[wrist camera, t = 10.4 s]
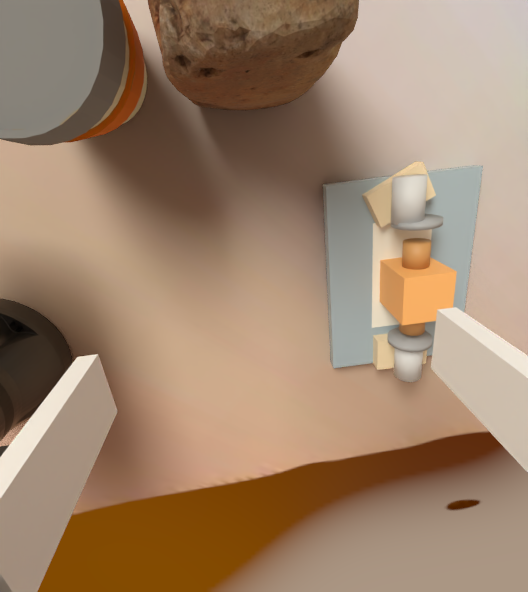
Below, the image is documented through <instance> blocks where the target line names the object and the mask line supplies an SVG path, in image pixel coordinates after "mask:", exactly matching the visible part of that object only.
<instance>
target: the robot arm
mask: <svg viewBox="0 0 528 592" xmlns="http://www.w3.org/2000/svg"><path fill="white" fill-rule="evenodd" d="M431 369H432V370H433V371H434V372H435V373H436V374H437V376H438V377H439V378H440V379H441V380H442V381H443V382H444V383H445V384H446V385H447V386H448V387H449V388H450V390H451V391H452V392H453V393H454V394H455V395H456V396H457V397H458V398H459V399H460V400H461V401H462V402H463V404H464V405H465V406H466V407H467V408H468V409H469V410H470V411H471V412H472V413H473V414H474V415H475V416H476V417H477V419H478V420H479V421H480V422H481V423H482V424H483V425H484V426H485V427H486V428H487V429H488V430H489V431H490V433H492V435H493V436H494V437H495V438H496V439H497V440H498V441H499V442H500V443H501V444H502V445H503V446H504V447H505V449H506V450H507V451H508V452H509V453H510V454H511V455H512V456H513V457H514V458H515V459H516V460H517V462H518V463H520V465H521V466H522V467H523V468H524V469H525V470H526V471H527V472H528V356H527V355H526V354H524V353H523V352H521V351H520V350H518V349H517V348H515V347H514V346H513V345H511V344H510V343H508V342H507V341H505V340H504V339H502V338H501V337H499V336H498V335H496V334H495V333H493V332H492V331H490V330H489V329H488V328H486V327H485V326H483V325H482V324H480V323H479V322H477V321H476V320H474V319H473V318H471V317H470V316H468V315H467V314H465V313H464V312H462V311H461V310H460V309H458V308H457V307H454V308H446V309H438V310H437V316H436V325H435V335H434V344H433V353H432V362H431ZM117 412H118V411H117V408H116V405H115V402H114V399H113V396H112V393H111V390H110V387H109V384H108V382H107V379H106V376H105V373H104V370H103V367H102V364H101V361H100V358H99V355H98V354H95V355H87V356H80V357H77V358H76V359H75V361H74V362H73V363H72V358H71V353H70V350H69V347H68V345H67V343H66V341H65V339H64V338H63V336H62V335H61V333H60V332H59V331H58V330H57V328H56V327H55V326H54V325H53V324H52V323H51V322H50V321H48V320H47V319H46V318H45V317H43V316H42V315H41V314H39V313H38V312H36V311H34V310H32V309H31V308H29V307H26V306H24V305H22V304H19V303H16V302H13V301H9V300H5V299H0V441H1V440H2V439H3V437H4V436H5V435H6V434H7V433H8V432H9V431H10V430H11V429H13V428H15V427H16V426H18V425H19V424H21V423H23V422H24V421H26V420H27V419H29V418H30V419H29V421H28V422H27V423H26V424H25V426H24V427H23V428H22V430H21V431H20V432H19V434H18V435H17V436H16V437H15V439H14V440H13V441H12V443H11V444H10V445H8V446H1V447H0V592H37V591H38V589H39V586H40V584H41V582H42V580H43V577H44V575H45V573H46V571H47V568H48V566H49V564H50V562H51V560H52V557H53V555H54V553H55V551H56V548H57V546H58V544H59V541H60V539H61V537H62V535H63V533H64V530H65V528H66V526H67V524H68V521H69V519H70V517H71V515H72V513H73V510H74V508H75V506H76V504H77V502H78V499H79V497H80V495H81V493H82V490H83V488H84V486H85V484H86V481H87V479H88V477H89V475H90V472H91V470H92V468H93V466H94V464H95V461H96V459H97V457H98V455H99V452H100V450H101V448H102V446H103V443H104V441H105V439H106V437H107V435H108V432H109V430H110V428H111V426H112V423H113V421H114V419H115V417H116V414H117Z"/></svg>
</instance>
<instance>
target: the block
mask: <svg viewBox="0 0 528 592" xmlns="http://www.w3.org/2000/svg"><path fill="white" fill-rule="evenodd" d="M148 4H149V9H150V13H151V17H152V20H153V24H154V28H155V32H156V36H157V39H158V43H159V46H160V50H161V54H162V58H163V66H164V69H165V73H166V76H167V78H168V79H169V80H170V82H171V83H172V84H173V85H174V86H175V88H176V89H177V90H178V91H179V92H181V93H182V94H183V95H184V96H186V97H188V99H189V100H191V101H192V102H193V103H194V104H196V105H198V106H202V107H210V108H218V109H226V110H254V109H262V108H269V107H275V106H279V105H282V104H286V103H288V102H291V101H293V100H295V99H296V98H298V97H300V96H301V95H303V94H304V93H305V92H307V91H308V90H309V89H310V88H311V87H312V86H313V85H314V83H315V82H316V81H317V80H318V79H319V78H320V77H321V76H322V75H323V74H324V73H325V72H326V70H327V69H328V68H329V66H330V65H331V64H332V62H333V60H334V59H335V58H336V57H337V55H338V52H339V49H340V47H341V44H342V42H343V41H344V40H345V39H346V38H347V37H348V36H349V34H350V33H351V32H352V31H353V30H354V27H355V24H356V21H357V18H358V6H359V0H148Z"/></svg>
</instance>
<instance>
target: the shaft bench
mask: <svg viewBox="0 0 528 592" xmlns="http://www.w3.org/2000/svg"><path fill="white" fill-rule="evenodd" d="M482 169H483V166H475V165H473V166H465V167H457V168H449V169H441V170H433V171H427V170H426V168H425V165H424V163H423V162H414V163H413V164H411V165H409V166H408V167H406V168H405V169H403V170H401V171H400V172H398V173H396V174H395V175H393V176H385V177H377V178H369V179H361V180H353V181H345V182H337V183H329V184H323V202H324V225H325V247H326V270H327V292H328V315H329V337H330V360H331V364H332V366H333V368H339V367H347V366H354V365H362V364H369V363H373V364H374V366H375V367H376V369H377V370H381V369H389V368H394V376H395V377H396V378H398V379H399V380H401V381H405V382H415V381H418V380H419V379H420V378H421V373H422V364H426V357H427V356H430V355H432V353H433V344H434V335H435V325H436V321H432V322H425V332H424V333H423V334H422V335H418V336H410V335H406V334H403V333H401V332H400V330H399V322H398V320H397V319H396V318H395V317H394V316H393V315H392V314H391V313H390V312H389V311H388V310H387V309H386V308H385V307H384V306H383V305H382V304H381V302H380V260H385V259H393V258H400V257H402V248H403V241H404V240H406V239H410V238H425V239H429V240H431V255H430V257H431V258H433V259H435V260H437V261H438V262H440V263H442V264H444V265H446V266H448V267H450V268H451V269H453V270H455V271H457V275H456V284H455V293H454V303H453V308H454V307H457V308H458V309H460V310H461V311H462V312H464V309H465V302H466V294H467V286H468V278H469V270H470V263H471V255H472V247H473V239H474V231H475V223H476V216H477V208H478V200H479V192H480V184H481V177H482Z"/></svg>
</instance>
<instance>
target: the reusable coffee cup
mask: <svg viewBox="0 0 528 592" xmlns="http://www.w3.org/2000/svg"><path fill="white" fill-rule="evenodd" d="M146 90H147V72H146V66H145V62H144V59H143V51H142V47H141V43H140V40H139V37H138V33H137V31H136V29H135V26H134V24H133V22H132V20H131V17H130V15H129V13H128V11H127V8H126V6H125V4H124V2H123V0H0V139H2V140H6V141H11V142H16V143H21V144H27V145H53V144H58V143H62V142H74V141H78V140H83V139H87V138H91V137H95V136H99V135H103V134H106V133H108V132H110V131H112V130H114V129H116V128H118V127H119V126H120V125H122V124H124V123H126V122H128V121H129V120H130V119H131V118H132V117H134V116H135V114H136V113H137V112H138V111H139V109H140V108H141V105H142V103H143V101H144V99H145V94H146Z"/></svg>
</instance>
